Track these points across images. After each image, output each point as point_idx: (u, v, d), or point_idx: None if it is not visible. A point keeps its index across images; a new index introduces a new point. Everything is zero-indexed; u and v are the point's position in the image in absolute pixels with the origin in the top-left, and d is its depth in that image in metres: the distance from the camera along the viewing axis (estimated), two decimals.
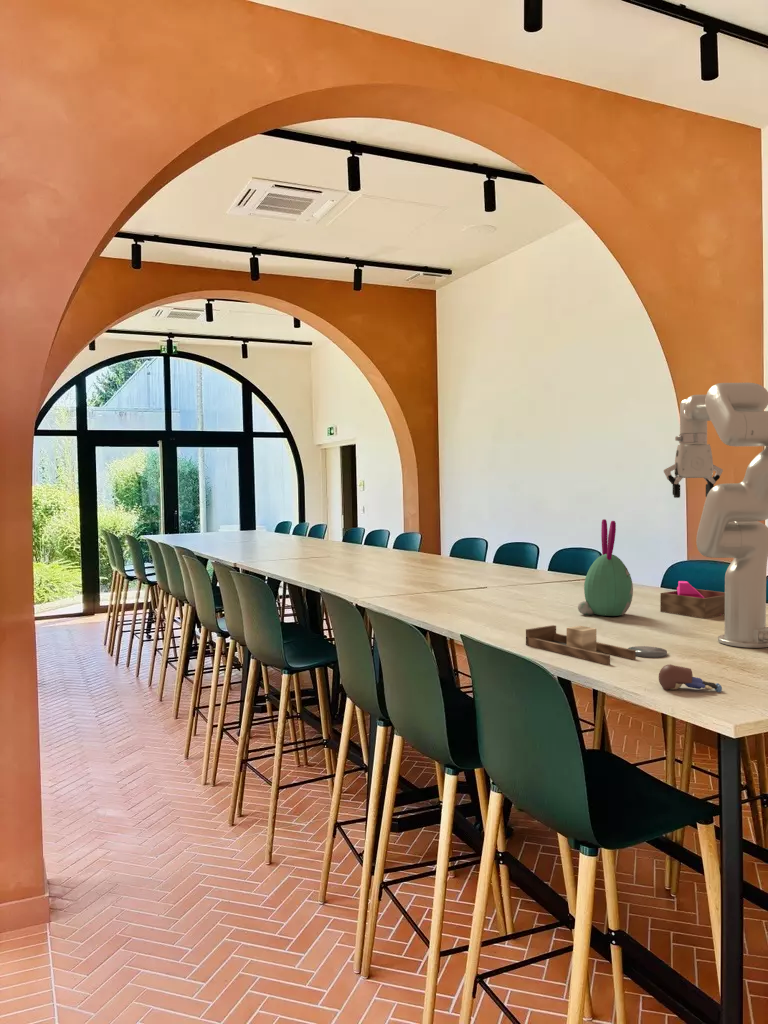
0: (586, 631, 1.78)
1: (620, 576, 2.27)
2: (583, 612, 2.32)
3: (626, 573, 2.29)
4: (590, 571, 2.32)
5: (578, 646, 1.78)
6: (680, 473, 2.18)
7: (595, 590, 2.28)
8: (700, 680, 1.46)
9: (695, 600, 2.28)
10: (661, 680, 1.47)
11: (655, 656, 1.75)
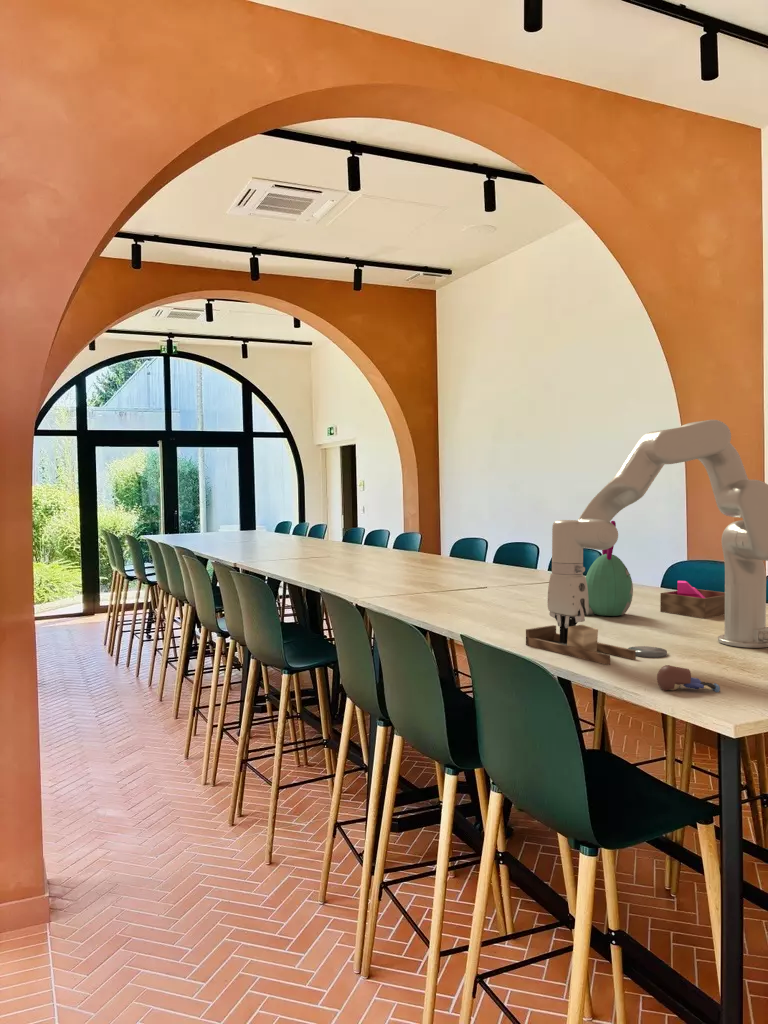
0: (588, 631, 1.78)
1: (620, 576, 2.27)
2: None
3: (626, 573, 2.29)
4: (590, 571, 2.32)
5: (579, 646, 1.78)
6: None
7: (595, 590, 2.28)
8: (699, 680, 1.46)
9: (695, 600, 2.28)
10: (660, 681, 1.47)
11: (655, 656, 1.75)
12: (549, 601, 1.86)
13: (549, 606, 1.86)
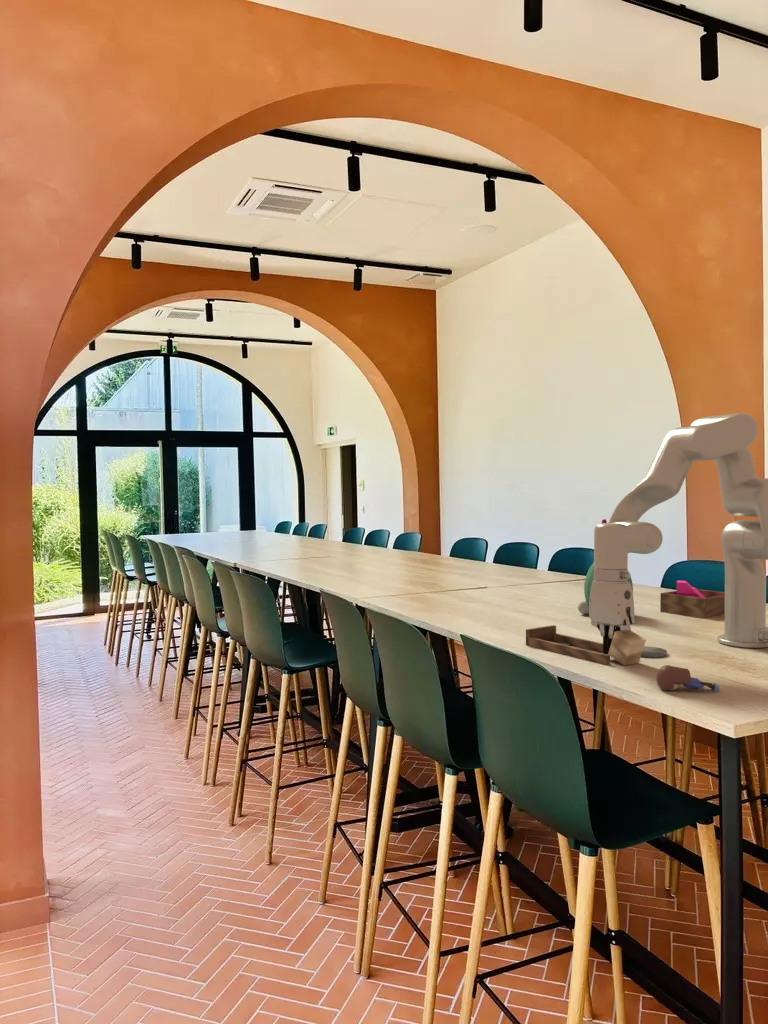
0: (635, 642, 1.66)
1: None
2: (583, 612, 2.32)
3: None
4: (590, 571, 2.32)
5: (622, 654, 1.68)
6: None
7: None
8: (698, 680, 1.46)
9: (695, 600, 2.28)
10: (659, 681, 1.47)
11: (655, 656, 1.75)
12: (591, 609, 1.75)
13: (591, 615, 1.75)
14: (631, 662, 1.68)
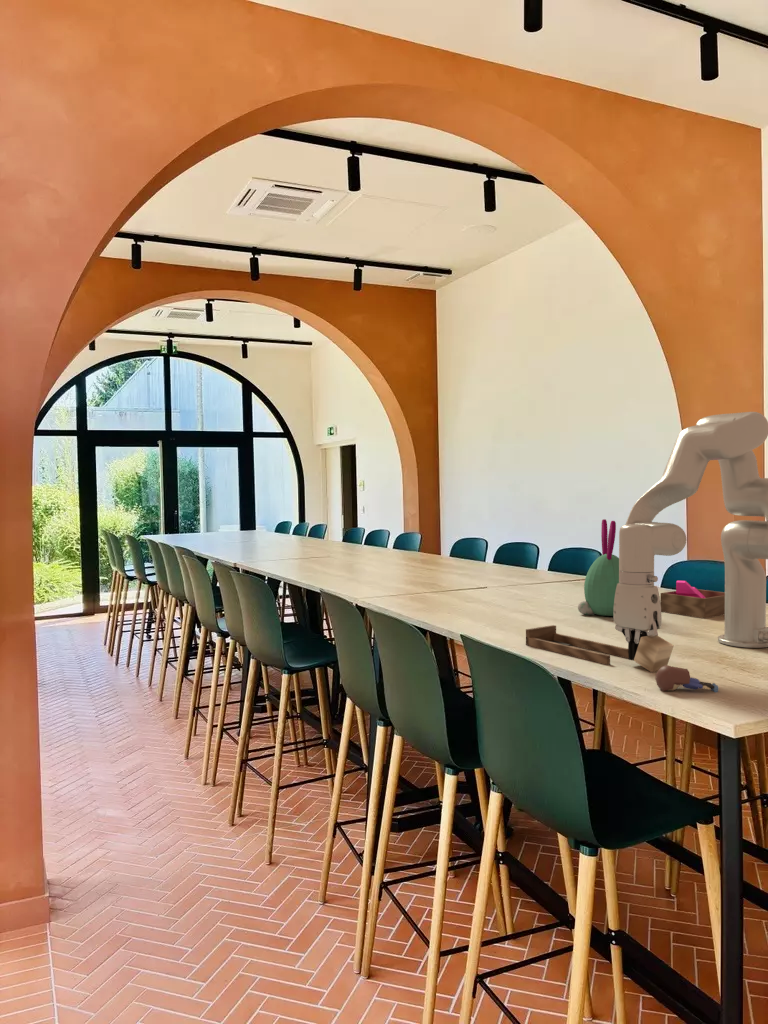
0: (663, 648, 1.60)
1: None
2: (583, 612, 2.32)
3: None
4: (590, 571, 2.32)
5: (649, 661, 1.61)
6: None
7: (595, 590, 2.28)
8: (697, 680, 1.46)
9: (695, 600, 2.28)
10: (659, 681, 1.46)
11: None
12: (616, 614, 1.69)
13: (616, 619, 1.69)
14: (658, 669, 1.62)
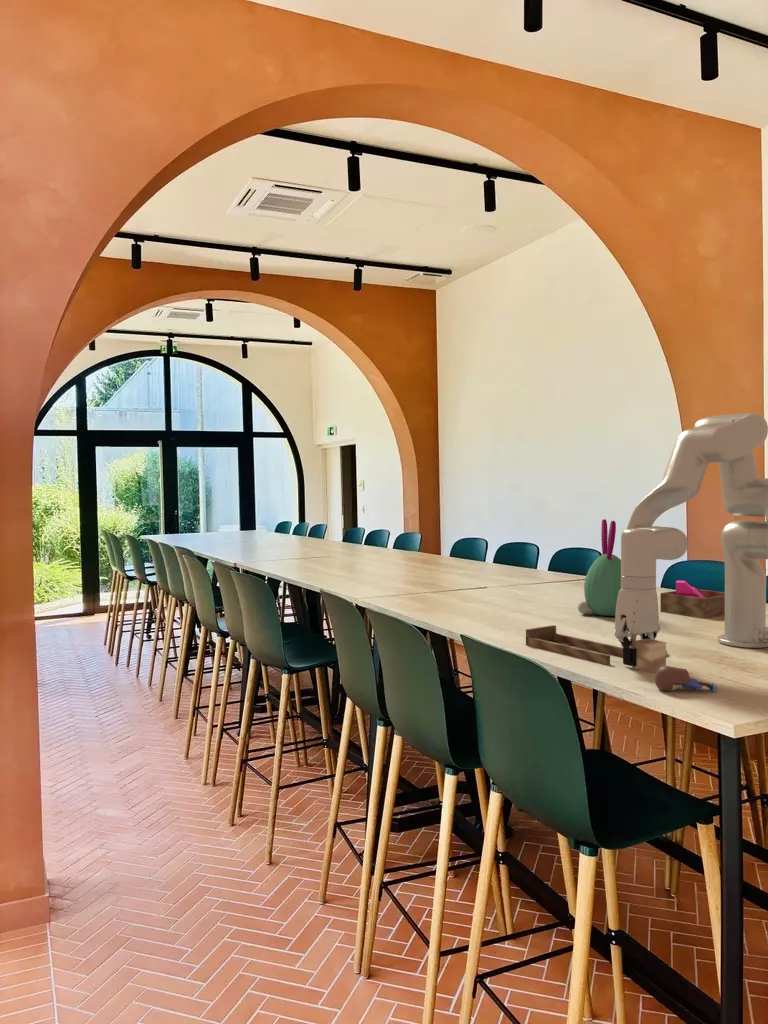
0: (655, 645, 1.62)
1: (620, 576, 2.27)
2: (583, 612, 2.32)
3: None
4: (590, 571, 2.32)
5: (646, 661, 1.62)
6: None
7: (595, 590, 2.28)
8: (696, 680, 1.46)
9: (695, 600, 2.28)
10: (658, 682, 1.46)
11: None
12: (635, 623, 1.63)
13: (634, 629, 1.63)
14: (657, 668, 1.62)
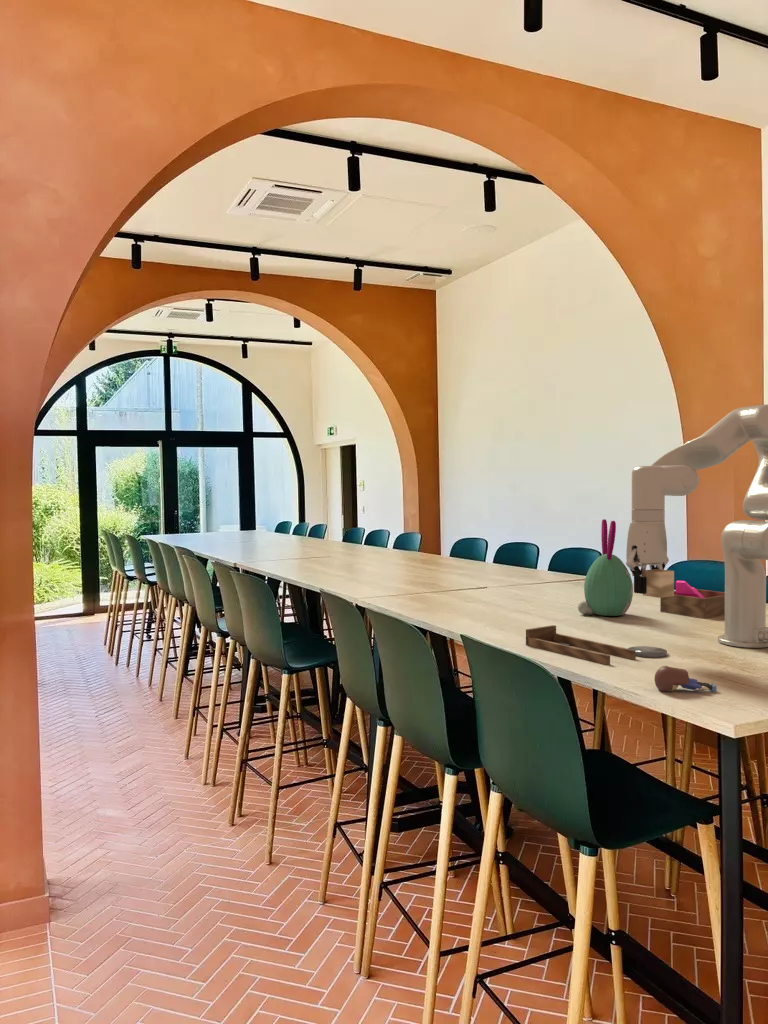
0: (664, 573, 1.73)
1: (620, 576, 2.27)
2: (583, 612, 2.32)
3: (626, 573, 2.29)
4: (590, 571, 2.32)
5: (656, 588, 1.74)
6: None
7: (595, 590, 2.28)
8: (696, 680, 1.46)
9: (695, 600, 2.28)
10: (658, 682, 1.46)
11: (655, 656, 1.75)
12: (645, 553, 1.74)
13: (644, 558, 1.75)
14: (666, 595, 1.74)
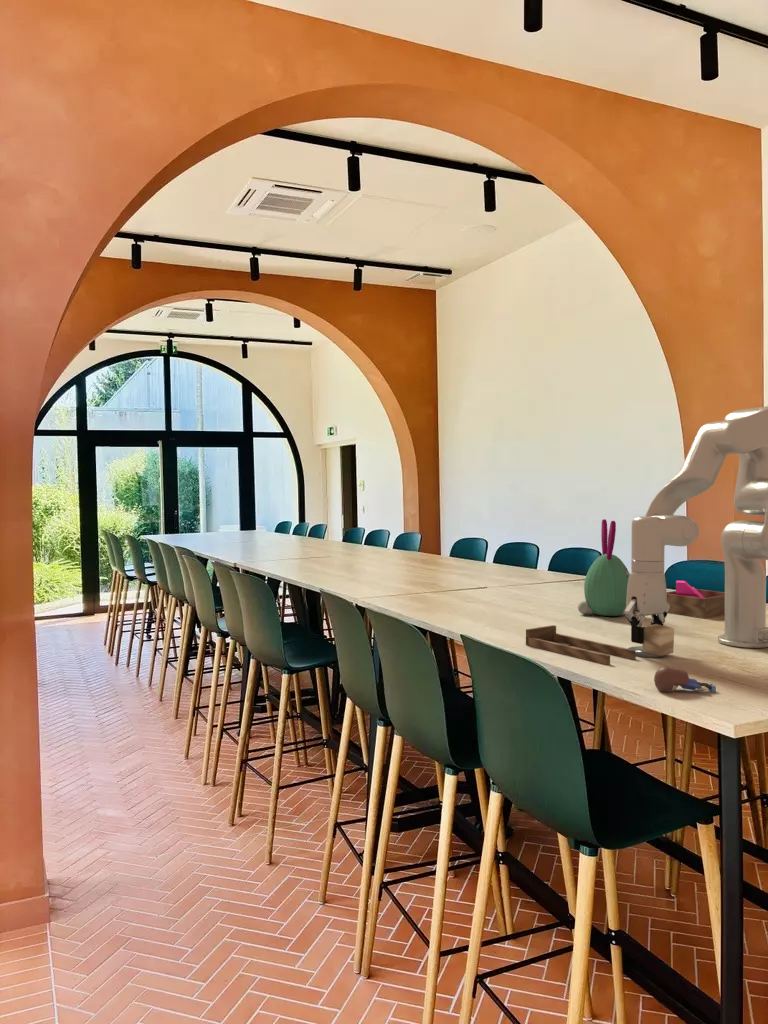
0: (664, 631, 1.74)
1: (620, 576, 2.27)
2: (583, 612, 2.32)
3: (626, 573, 2.29)
4: (590, 571, 2.32)
5: (656, 646, 1.74)
6: None
7: (595, 590, 2.28)
8: (695, 680, 1.46)
9: (695, 600, 2.28)
10: (658, 682, 1.45)
11: (655, 656, 1.75)
12: (644, 604, 1.75)
13: (644, 609, 1.75)
14: (666, 652, 1.75)
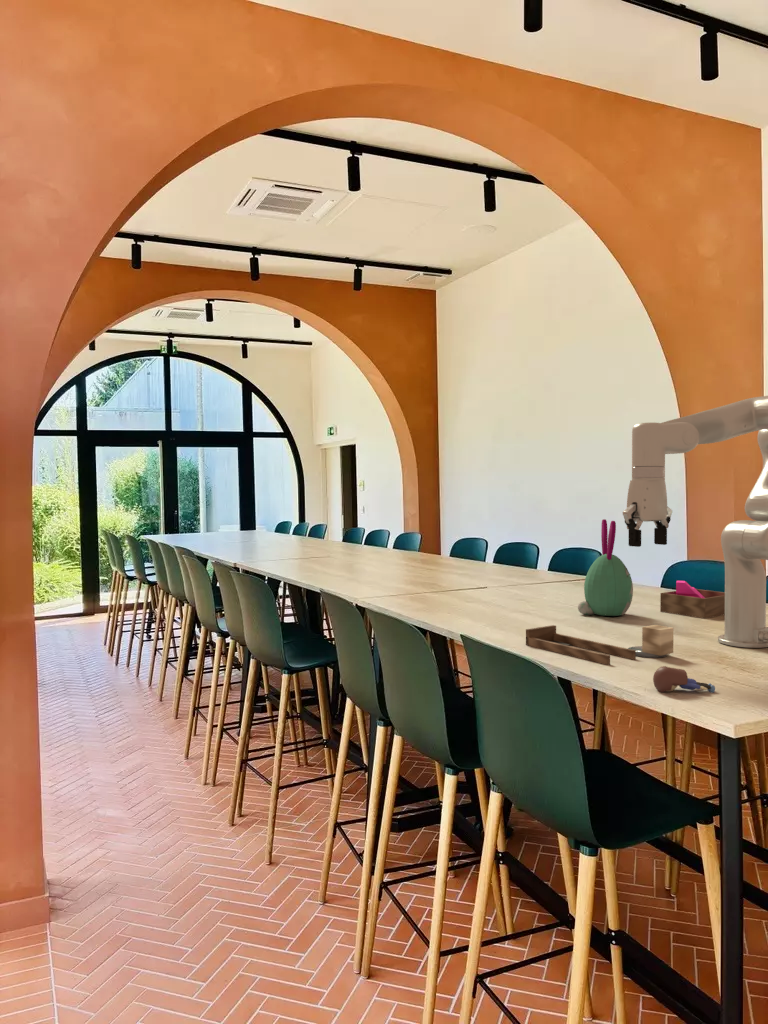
0: (664, 630, 1.74)
1: (620, 576, 2.27)
2: (583, 612, 2.32)
3: (626, 573, 2.29)
4: (590, 571, 2.32)
5: (655, 646, 1.74)
6: None
7: (595, 590, 2.28)
8: (694, 680, 1.46)
9: (695, 600, 2.28)
10: (657, 682, 1.45)
11: (655, 656, 1.75)
12: (645, 509, 1.74)
13: (645, 514, 1.74)
14: (666, 652, 1.75)
